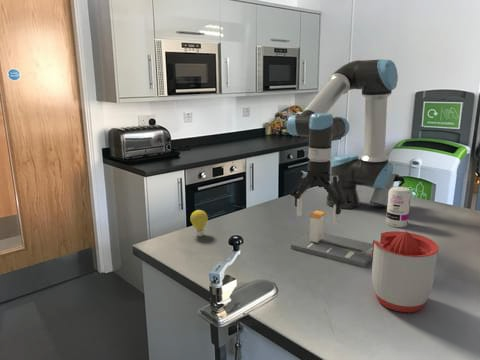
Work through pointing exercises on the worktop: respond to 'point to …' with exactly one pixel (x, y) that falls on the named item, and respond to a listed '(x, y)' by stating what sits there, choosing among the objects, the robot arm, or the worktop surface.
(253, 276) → the worktop surface
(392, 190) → the supplement can
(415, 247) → the citrus juicer
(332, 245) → the fader panel
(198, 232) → the light bulb
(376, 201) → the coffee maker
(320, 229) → the fader knob
